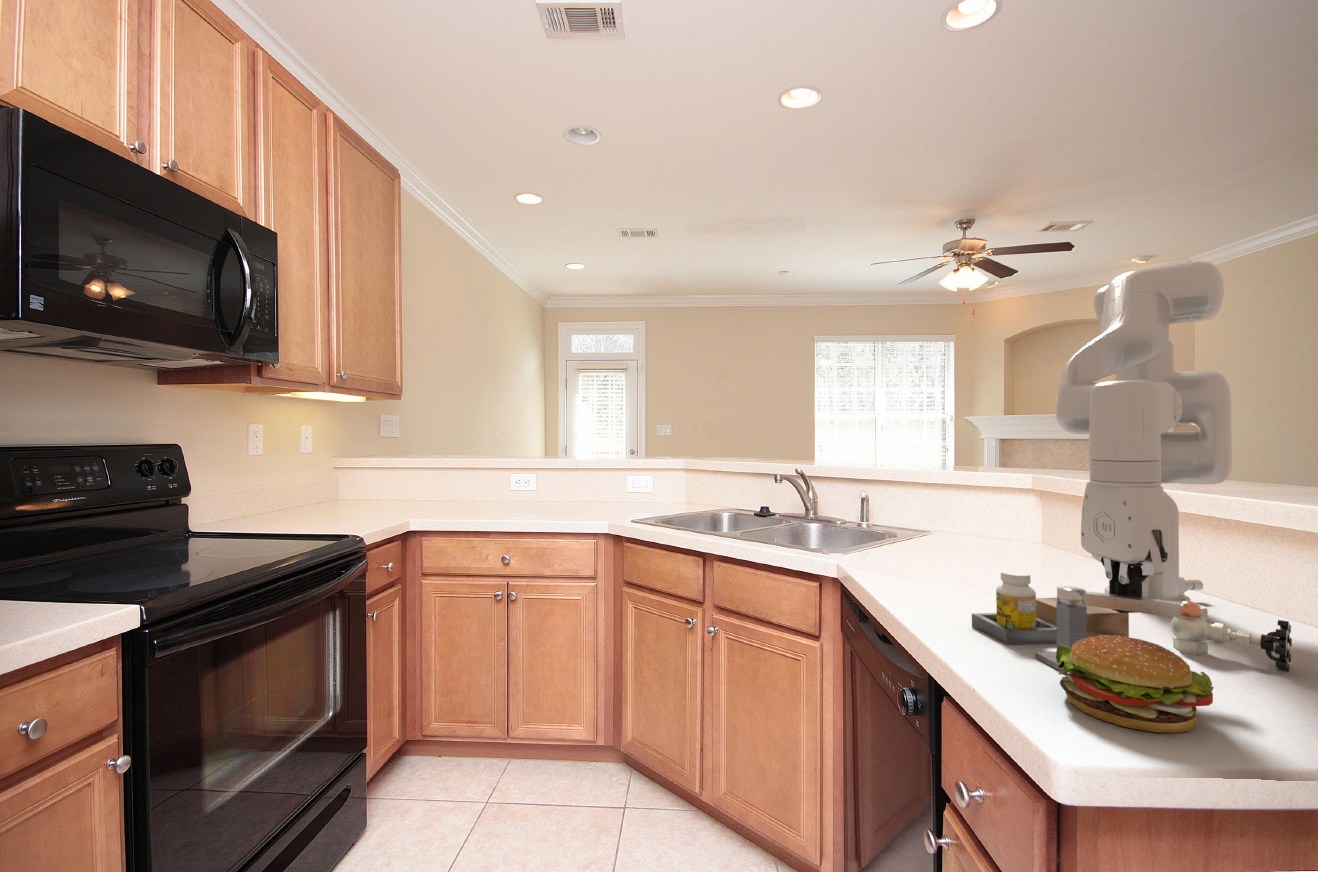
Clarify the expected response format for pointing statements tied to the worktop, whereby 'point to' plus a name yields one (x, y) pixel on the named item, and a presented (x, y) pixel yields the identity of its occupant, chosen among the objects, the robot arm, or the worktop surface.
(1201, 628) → the valve
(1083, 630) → the grey upright pillar
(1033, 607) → the supplement bottle
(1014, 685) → the worktop surface
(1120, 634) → the walnut block
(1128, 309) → the robot arm
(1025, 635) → the shallow grey tray
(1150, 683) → the food
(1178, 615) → the handle
